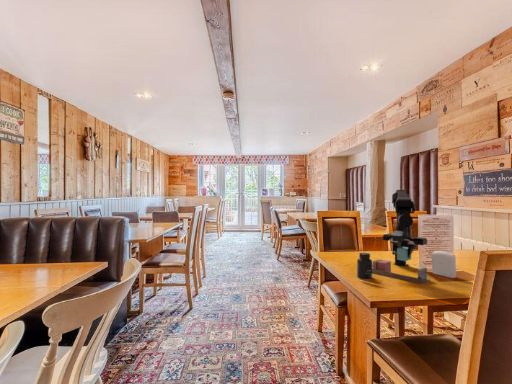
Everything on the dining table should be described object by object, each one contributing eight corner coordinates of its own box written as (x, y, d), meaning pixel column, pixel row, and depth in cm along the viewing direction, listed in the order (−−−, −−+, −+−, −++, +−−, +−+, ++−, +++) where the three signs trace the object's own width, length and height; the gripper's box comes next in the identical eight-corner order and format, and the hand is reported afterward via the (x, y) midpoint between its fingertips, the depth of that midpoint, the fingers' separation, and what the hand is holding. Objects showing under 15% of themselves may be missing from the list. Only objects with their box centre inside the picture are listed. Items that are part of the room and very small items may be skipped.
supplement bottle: (370, 281, 132) (370, 255, 132) (355, 278, 135) (355, 253, 135) (373, 277, 137) (373, 252, 138) (358, 275, 141) (358, 251, 141)
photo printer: (430, 274, 143) (430, 249, 143) (435, 273, 145) (435, 249, 145) (452, 279, 134) (452, 253, 134) (457, 278, 136) (457, 252, 136)
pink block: (383, 270, 148) (383, 260, 148) (390, 272, 144) (390, 261, 145) (377, 272, 144) (377, 261, 144) (385, 274, 141) (385, 263, 141)
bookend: (424, 278, 133) (424, 267, 133) (429, 280, 131) (429, 268, 131) (417, 281, 128) (417, 269, 128) (423, 283, 127) (423, 271, 127)
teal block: (402, 257, 140) (402, 246, 140) (411, 259, 137) (411, 247, 137) (397, 259, 136) (397, 248, 136) (405, 261, 133) (405, 249, 133)
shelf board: (381, 270, 151) (381, 258, 151) (431, 280, 132) (431, 267, 132) (370, 273, 144) (370, 261, 144) (422, 285, 125) (422, 271, 125)
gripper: (377, 224, 139) (377, 256, 139) (417, 227, 124) (417, 263, 124) (387, 222, 146) (388, 252, 146) (427, 225, 131) (427, 259, 131)
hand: (404, 256), depth 137 cm, fingers closed on teal block, 4 cm apart
